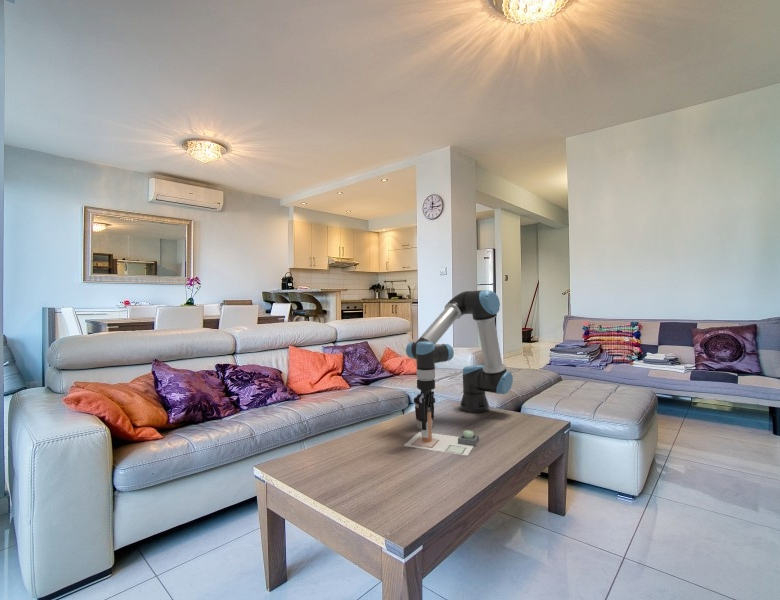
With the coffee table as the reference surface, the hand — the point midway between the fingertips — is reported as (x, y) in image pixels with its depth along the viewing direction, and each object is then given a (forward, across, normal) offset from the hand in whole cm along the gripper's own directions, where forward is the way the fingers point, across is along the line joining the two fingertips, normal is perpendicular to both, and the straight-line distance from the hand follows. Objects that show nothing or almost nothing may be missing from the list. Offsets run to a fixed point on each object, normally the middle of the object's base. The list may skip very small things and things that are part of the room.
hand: (426, 435), depth 157 cm
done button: (+2, -5, +16) cm, 17 cm away
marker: (+2, 0, 0) cm, 2 cm away
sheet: (+3, 0, +6) cm, 7 cm away
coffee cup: (+3, -16, -7) cm, 18 cm away
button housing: (+2, -5, +16) cm, 17 cm away
